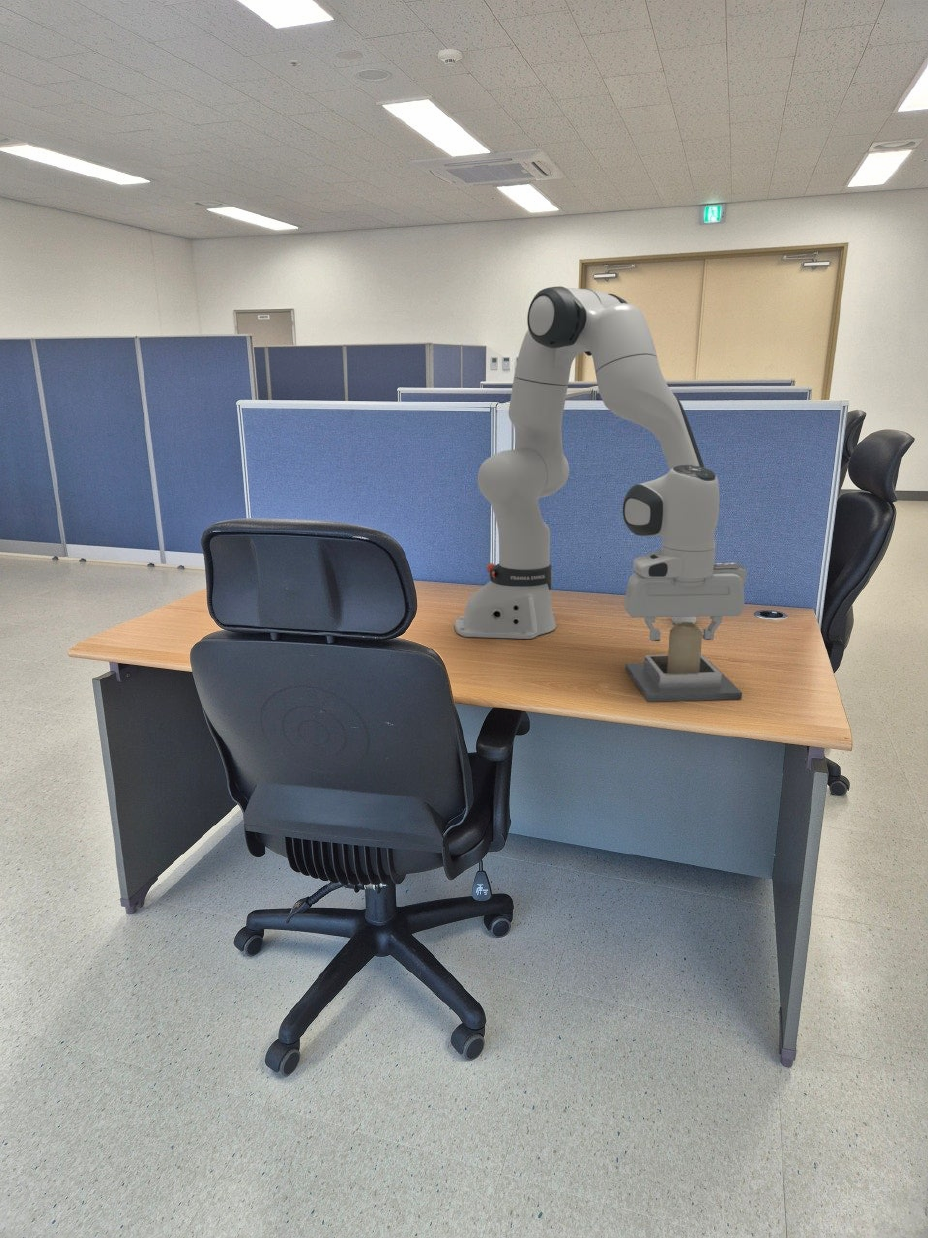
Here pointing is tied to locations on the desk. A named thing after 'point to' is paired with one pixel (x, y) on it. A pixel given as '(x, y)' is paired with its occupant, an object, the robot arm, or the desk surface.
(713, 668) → the candle stand
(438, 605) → the desk surface
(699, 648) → the candle
